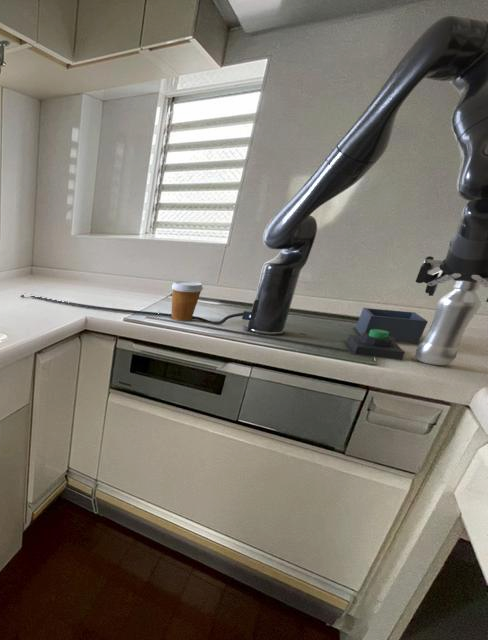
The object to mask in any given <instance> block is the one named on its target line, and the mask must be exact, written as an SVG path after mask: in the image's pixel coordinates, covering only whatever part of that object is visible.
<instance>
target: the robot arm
mask: <svg viewBox="0 0 488 640" xmlns="http://www.w3.org/2000/svg"><path fill="white" fill-rule="evenodd" d="M423 80H429V81H437V82H448V83H449V84H450V85H451V86H452V87H453V89H455V90H456V92H457V94H458V95H459V99H458V101H457V103H456V104H455V106H454V108H453V110H452V112H451V117H450V128H451V132H452V135H453V138H454V140H455V142H456V145H457V148H458V152H459V169H458V173H457V178H456V187H455V188H456V192H457V194H458V196H459V197H460V198H462V199H463V200H466V201H468V202H467V203H465V205H464V207H463V209H462V211H461V214H460V217H459V220H458V223H457V226H456V228H455V230H454V232H453V234H452V237H451V239H450V241H449V244H448V245H449V246H448V249H447V252H446V255H445V259H443V260H437V259H435V258H434V256H429V255H428V256H426V257H425V258H424V260H423V262H422V264H421V266H420V268H419V271H418V274H417V276H416V279H415V282H416V283H417V284H422V283H424V284H426V287H425V293H426V294H427V295H428V296H429V297H433V296H434V294H435V293H436V291H437V288H438V285H439V284H444V283H447V282H449V281H451V280H453V281H454V282H456V281H468V282H476V281H478V282H479V283H480V286H482V287H484V288H488V20H486V19H481V18H476V17H470V16H469V17H468V16H464V15H457V14H449V15H445V16H442V17H440V18H438V19H437V20H435V21H434V22H433V23H432V24H430V25H429V26H428V27H427V28H426V29H425V30H424V31H423V32H422V33H421V34H420V35H419V36H418V38H416V40H415V41H414V42H413V44H412V45H411V46H410V47H409V49H408V50H407V51H406V53H404V55H403V57H402V58H401V60H400V61H399V63H398V64H397V65H396V67H395V68H394V70H393V71H392V72H391V74H390V75H389V76H388V78H387V79H386V81H385V82H384V84H383V85H382V87H381V88H380V89H379V91H378V92H377V93H376V95H375V96H374V98H373V99H372V100H371V102H369V104H368V106H367V107H366V108H365V110H364V111H363V112H362V113H361V115H360V116H359V117H358V118H357V120H355V122H354V124H353V125H352V126H351V127H349V129H348V131H347V132H346V133H345V134H344V135H343V136H342V137H341V139H340V140H339V141H338V142H337V143H336V145H334V147H333V148H332V149H331V151H330V152H329V153H328V154H327V156H326V157H325V158H324V160H323V161H322V162H321V164H319V166H318V167H317V168H316V170H315V171H314V172H313V173H312V174H311V176H310V177H309V178H308V179H307V180H306V181H305V183H304V184H303V185H302V186H301V188H300V189H299V190H298V191H297V192H296V193H295V194H294V195H293V196H292V197H291V199H289V201H288V202H287V203H286V204H285V205H284V206H283V207H282V208H281V209H280V210H279V211H278V212H277V213H276V214H275V215H274V216H273V217H272V218H271V219H270V221H269V222H268V223H267V225H266V227H265V228H264V231H263V235H262V243H263V244H264V246H265V247H266V248H267V249H271V250H279V253H278V254H277V255H276V256H275V257H273V258H272V259H270V260H268V261H265V262H264V263H263V265H262V268H261V272H260V275H259V280H258V283H257V288H256V292H255V296H254V298H253V302H252V307H251V308H245V309H244V310H243V312H238V313H231V314H229V315H227V316H225V317H223V318H222V319H221V320H218V321H217V320H216V321H213V320H209V319H206V318H203V317H201V316H195V315H193V316H192V319H191V320H196V321H200V322H203V323H207V324H211V325H222V324H225V322H227V321H228V320H229V319H233V318H237V317H241V320H243V321H248V322H247V325H246V331H248V332H253V333H257V334H262V335H272V336H278V335H282V334H284V329H285V326H286V324H287V323H286V322H287V320H288V316H289V313H290V309H291V305H292V302H293V298H294V295H295V292H296V288H297V285H298V281H299V278H300V274H301V271H302V270H303V268H304V267H305V266H306V265H307V262H308V260H309V258H310V253H311V251H312V248H313V246H314V243H315V239H316V237H317V232H318V222H317V220H316V218H315V217H314V216H312V214H313V213H314V212H315V211H317V209H318V208H320V207H321V206H322V205H324V204H326V203H327V202H329V201H330V200H332V199H334V198H335V197H337V196H338V195H340V194H342V193H344V192H345V191H346V190H348V189H349V188H351V187H352V186H354V185H355V184H357V182H359V181H360V180H361V179H362V178H363V177H364V176H365V175H366V174H367V173H368V172H369V171H370V170H371V169H372V168H373V167H374V166H375V165H376V164H377V162H378V161H380V159H381V158H382V156H383V155H384V154H385V153H386V152H387V149H388V147H389V144H390V142H391V139H392V135H393V131H394V126H395V122H396V119H397V116H398V113H399V111H400V109H401V107H402V106H403V104H404V103H405V101H406V100H407V99H408V97H409V96H410V95H411V94H412V92H413V91H414V90H415V88H417V86H418V85H419V84H420V83H421V82H422V81H423ZM436 268H439V271H436V272H434V273H432V274H430V273H429V272H431V271H432V270H435V269H436ZM35 296H36V295H35ZM35 296H29V297H31V298H33V299H37V300H38V299H39V300H44V301H47V302H54V303H58V304H64V305H68V306H69V305H71V306H75V307H82V308H87V309H88V308H89V309H95V310H102V311H111V312H120V313H129V314H137V315H147V316H159V317H170V318H171V314H172V313H164V312H156V311H155V312H153V311H143V310H133V309H124V308H116V307H115V308H114V307H105V306H98V305H93V304H92V305H91V304H84V303H77V302H71V301H66V300H61V301H57V300H58V299H55V300H52V299H53V298H50V299H47V298H48V297H45V298H42V297H43V296H40V297H35ZM20 297H22V298H24V297H25V296H24V295H23V294H21V295H20V296H19V298H20ZM62 301H64V302H62ZM68 302H69V303H68ZM485 302H486V303H488V297H487V298H486V301H485ZM158 313H159V314H158Z"/></svg>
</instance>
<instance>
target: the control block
mask: <svg viewBox="0 0 488 640" xmlns="http://www.w3.org/2000/svg"><path fill="white" fill-rule="evenodd" d="M368 335H369V333H361V334H359V335H356V334H349V335H348V336H347V340H346V343H347V345H348V346H349V348H350V349H351V351H352V352H353V355H361V356H367V357H375V358H382V359H389V360H395V361H396V360H398V361H402V360H403V358H404V356H405V354H406V352H405V351H404V350H403V349H402V347H400V346H399V345H398V344H397V343H396V342H395V338H394V337H391V336H388V337H387V339H381V338H374V337H370V336H368Z"/></svg>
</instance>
